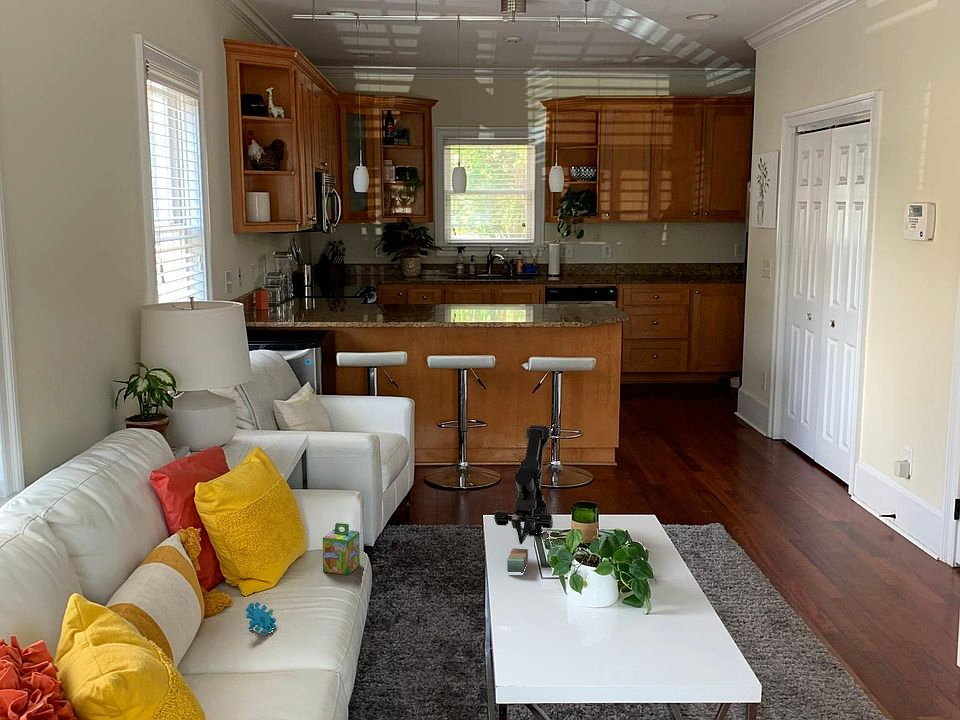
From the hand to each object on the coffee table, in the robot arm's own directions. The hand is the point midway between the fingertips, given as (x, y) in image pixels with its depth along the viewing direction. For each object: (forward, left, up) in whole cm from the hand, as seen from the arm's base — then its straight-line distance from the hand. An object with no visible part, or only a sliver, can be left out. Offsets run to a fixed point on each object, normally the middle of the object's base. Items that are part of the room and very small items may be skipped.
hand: (520, 543), depth 306 cm
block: (0, 0, -4) cm, 4 cm away
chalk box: (-19, -54, -7) cm, 58 cm away
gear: (+15, -85, -7) cm, 87 cm away
